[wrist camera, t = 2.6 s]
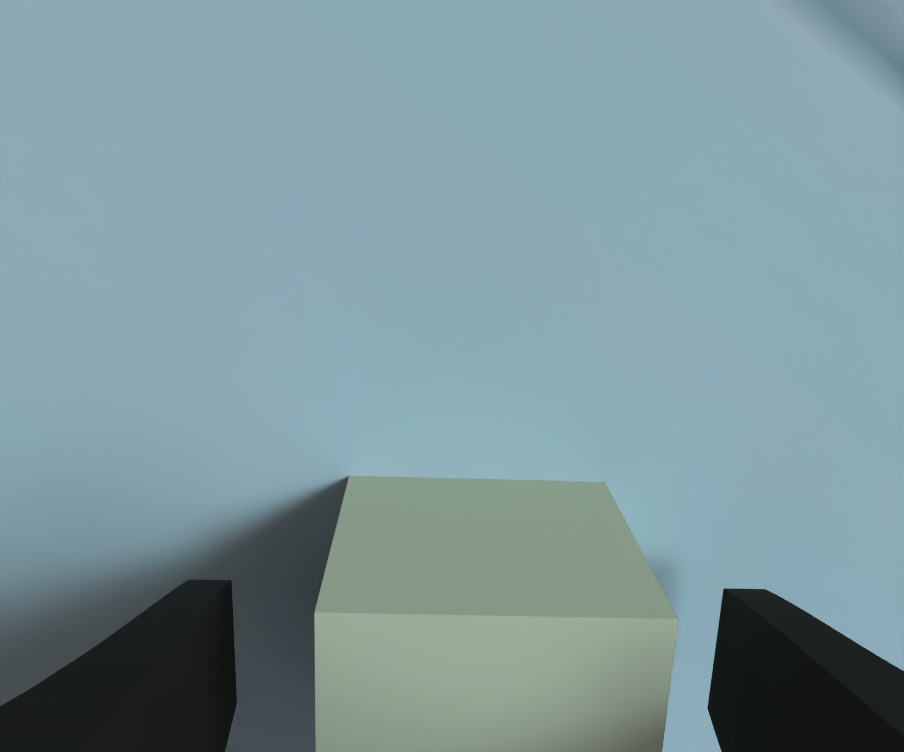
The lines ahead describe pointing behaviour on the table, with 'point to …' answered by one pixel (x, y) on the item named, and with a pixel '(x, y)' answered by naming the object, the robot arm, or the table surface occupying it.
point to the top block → (489, 621)
